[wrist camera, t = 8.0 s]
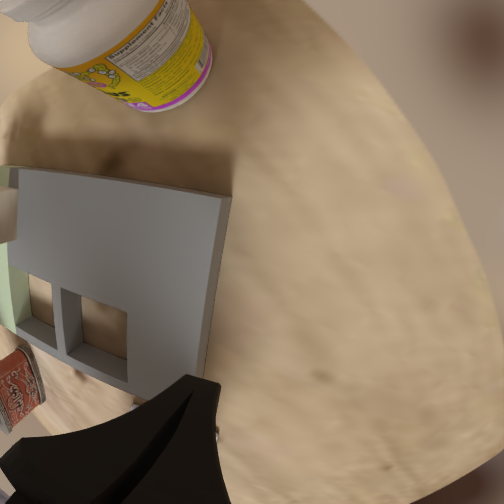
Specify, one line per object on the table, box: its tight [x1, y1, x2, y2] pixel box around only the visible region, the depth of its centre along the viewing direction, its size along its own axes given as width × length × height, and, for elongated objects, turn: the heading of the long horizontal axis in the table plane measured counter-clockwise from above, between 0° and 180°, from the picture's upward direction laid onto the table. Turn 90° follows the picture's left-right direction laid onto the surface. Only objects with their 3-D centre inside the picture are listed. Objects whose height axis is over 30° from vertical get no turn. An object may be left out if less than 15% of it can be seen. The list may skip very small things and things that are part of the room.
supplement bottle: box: [0, 0, 212, 112], centre depth 10 cm, size 7×7×13 cm
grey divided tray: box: [0, 165, 232, 401], centre depth 19 cm, size 15×22×4 cm
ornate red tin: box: [0, 345, 46, 434], centre depth 21 cm, size 8×3×10 cm, turn 172°
